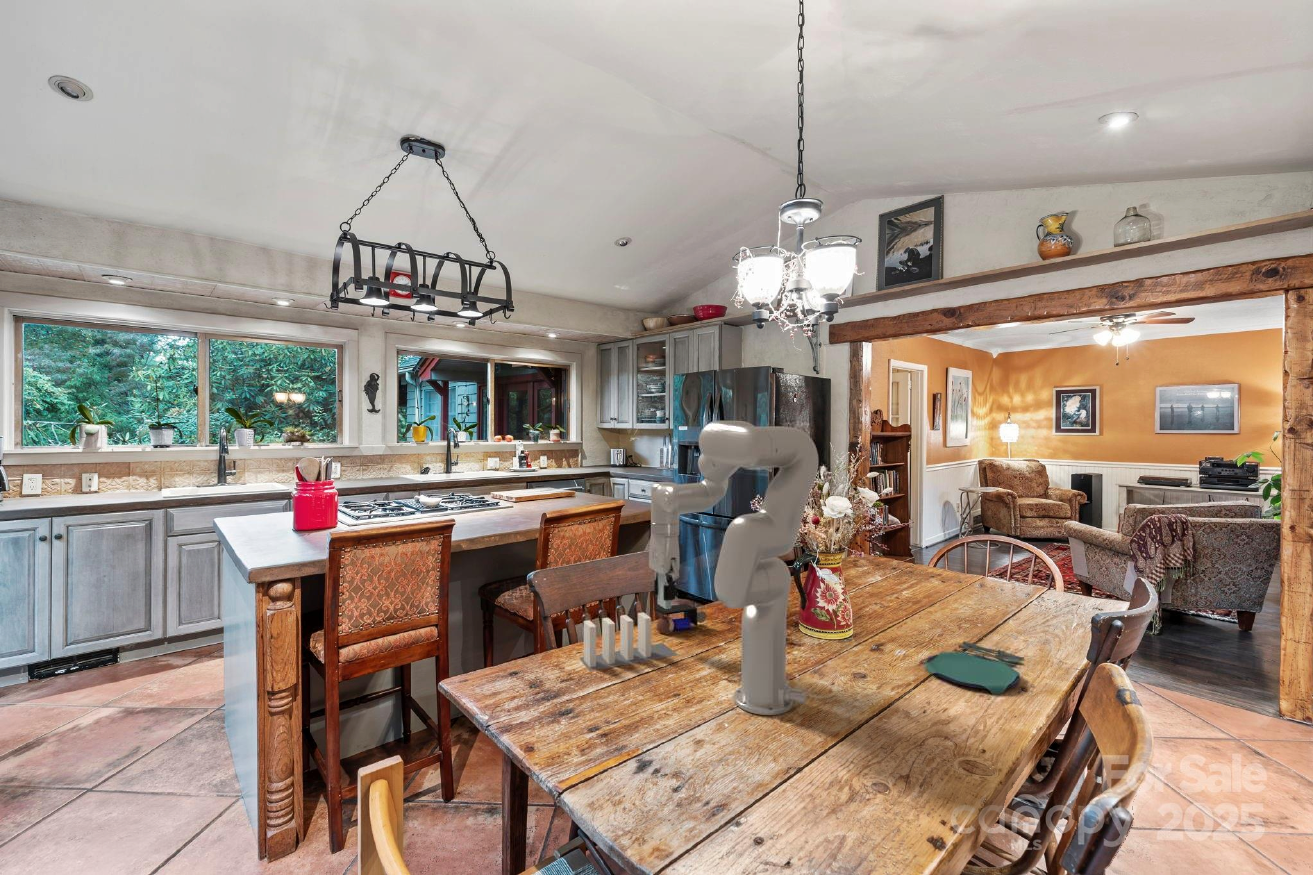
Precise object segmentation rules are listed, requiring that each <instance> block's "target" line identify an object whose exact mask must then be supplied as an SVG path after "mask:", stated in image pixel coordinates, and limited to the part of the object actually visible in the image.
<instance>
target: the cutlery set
mask: <svg viewBox="0 0 1313 875" xmlns="http://www.w3.org/2000/svg"><path fill="white" fill-rule="evenodd" d="M958 649H965V650H968V651H972V652H978V653H971V652H966V651H962V650H958ZM958 649H956V648H954V651H949V652H947V651H946V652H945V651H943V652H939V653H938V654H934V655H932V656H930V657H928V658H927V660H926V661H925V666H924V667H925V670H927V671H928V672H929V673H930V674H931V675H932V676H933V675H936V676H938V677H939V678H942V679H944V680H946V681H949V682H952V683H954V684H957V685H960V686H966V687H970V688H976V689H985V690H988V691H990V693H991V694H992V695H1000V694H1003V693H1004V692H1005V691H1006V689H1010V688H1013V687H1014V686H1016V685H1018V684H1020V679H1021V677H1020V672H1018V671H1017V670H1015V669H1014V668H1013V667H1018V665H1017V664H1016V663H1020V662H1021V661H1023V660H1024V659H1025V657H1024V656H1019V655H1016V654H1013V653H1010V652H1007V651H1005V650H1001V649H993V648H987V647H984V646H980V645H977V644H974V643H971V642H967V641H965V640H964V641H962V644H958ZM989 652H992V653H997V654H992V653H989ZM982 654H983V655H982ZM985 655H987V656H990V657H986V656H985ZM991 657H993V658H991ZM994 658H996V659H994Z"/></svg>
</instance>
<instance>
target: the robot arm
mask: <svg viewBox="0 0 1313 875" xmlns="http://www.w3.org/2000/svg"><path fill="white" fill-rule="evenodd" d="M698 447H699V450H700V452H701V454H700V456H699V457H698V460H697V466H698V467H697V468H698V470H699V472H700V474H701V475H702V476H703V478H704V479H703V480H702V481H701V482H694V483H693V482H692V483H682V484H681V483H680V484H678V483H676V482H672V481H659V482H655V483H653V484H652V485H651V488H650V539H649V549H648V567H649V568H650V569H651V570H652V571H653V580H654V582H653V583H654V585H653V586H654V588H653V589H654V590H653V593H654V595H656V596H658V573H660V574H662V575H664V580H665V585H664V586H663V599H664V600H665V601H668V600H671V601H674V600H675V599H676V585H677V580H678V578H680V573H679V572H680V571H679V570H680V546H679V545H680V544H679V542H680V541H679V535H680V515H686V514H693V513H703V512H706V511H708V510H710V509H712V508H714V507H715V506H716V505H717V504H718V503H720V501H721V500H722V499H723V498H724V497H725V496H726V494H727V490H728V487H729V478H730V477H731V476H733V474H735V472H736V471H738V469H739V468H746V469H765V468H766V469H767V468H779V470H778V472H777V473H776V475H775V476H774V477H773V478H772V479H771V481H770V483H769V484H768V487H767V489H766V491H765V494H764V498H763V502H762V504H761V507H760V509H759V511H757V512H755V513H747V514H742V515H738V516H737V517H736V518H734V519H733V520H732V521H731V522H730V523H729V525H728V527H727V528H726V531H725V533H724V536H723V540H722V544H721V548H720V553H719V556H718V560H717V564H716V568H715V574H714V580H713V581H714V583H713V584H714V591H715V596H716V598H717V599H718V601H719V603H721V605H723V606H725V607H727V608H729V609H742V608H743V611H742V616H741V630H740V631H741V633H740V634H741V635H740V636H741V637H740V638H741V640H740V641H741V644H740V645H741V647H740V648H741V650H740V652H741V654H740V655H741V656H740V657H741V658H740V660H741V661H740V662H741V667H740V669H741V670H740V671H741V675H740V676H741V679H740V680H741V681H740V682H741V683H740V684H741V686H740V687H739V688H737V689H736V690H735V692H734V693H733V694H734V696H733V700H734V703H735V704H736V705H737V706H738V708H740V709H742V710H744V711H745V712H749V713H751V714H756V715H761V716H777V715H781V714H784V713H787V712H788V711H791V709H793V706H794V703H796V704H800V705H801V704H802V705H806V703H807V694H805V693H803V689H800V688H799V689H798V688H793V687H792V686H790V680H789V679H787V614H788V613H787V612H788V610H787V609H788V602H789V598H790V592H791V587H792V586H791V585H792V576H791V572H790V569H789V568H788V565H787V563H786V562H785V561H783V560H782V559H780V558H779V557H782V556H784V555H787V554H789V553H790V552H791V551H792V550H793V549H794V547H795V545H796V543H797V538H798V536H799V535H798V534H799V531H800V528H801V524H802V520H803V517H804V515H805V510H806V507H807V506H806V505H807V504H808V503H807V502H808V500H809V496H810V493H811V491H812V488H813V486H814V483H815V480H816V477H817V473H818V470H819V454H818V450H817V447H816V444H815V443H814V441H813V439H812V438H811V437H810V435H809V434H807V433H806V432H805V431H803V430H801V429H799V428H796V427H793V426H755V425H753V424H752V423H750V422H748V421H743V420H714V421H711V422H708V423H707V424H705V426H704V427H703V428H702V430H701V431H700V433H699V437H698ZM668 571H671V573H668ZM668 575H671V577H669V579H668Z"/></svg>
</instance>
